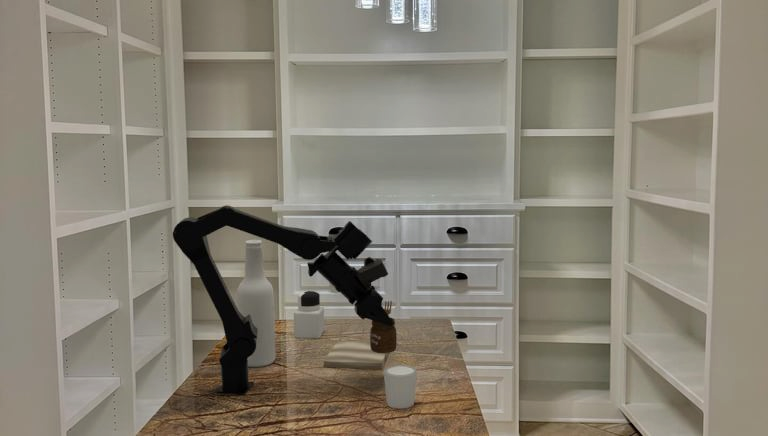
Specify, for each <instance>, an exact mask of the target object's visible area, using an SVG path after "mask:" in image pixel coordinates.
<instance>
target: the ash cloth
mask: <svg viewBox="0 0 768 436" xmlns="http://www.w3.org/2000/svg"><path fill="white" fill-rule="evenodd" d="M388 355H389V353H376V352H373V351H372V350H371V347H370V341H349V340H348V341H347V340H345V341H343V340H342V341H341V340H337V341H336V343H334V345H333V346H332V348H331V349H330V351H329V352H328V353H327V355H326V357H325V358H324V360H323V368H333V367H336V368H337V369H339V368H340V369H363V370H366V369H367V370H383V367H384V365H385V362H386V360H387V357H388Z"/></svg>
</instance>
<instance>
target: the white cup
mask: <svg viewBox="0 0 768 436" xmlns="http://www.w3.org/2000/svg"><path fill="white" fill-rule="evenodd" d="M417 372H418V369H417V368H415V367H414V366H413V367H412V366H409V365H404V364H403V365H401V364H400V365H399V364H398V365H390V366H387V367H386V368H384V369H383V379H384V391H385V399H386V405H387V407H389V408H392V409H400V410H401V409H408V408H411V407H413V406H414V405H415V397H416V387H417V386H416V385H417Z"/></svg>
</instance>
